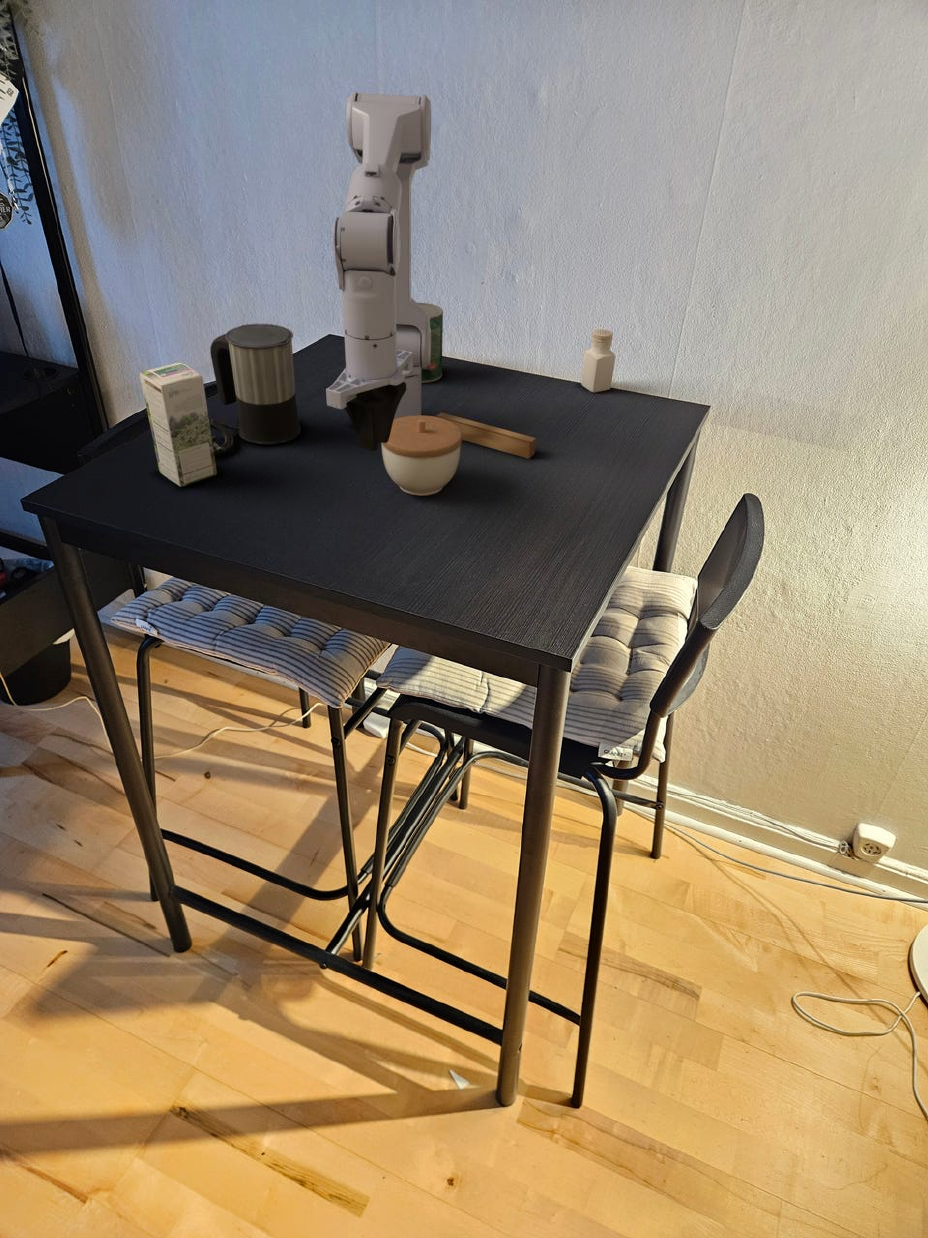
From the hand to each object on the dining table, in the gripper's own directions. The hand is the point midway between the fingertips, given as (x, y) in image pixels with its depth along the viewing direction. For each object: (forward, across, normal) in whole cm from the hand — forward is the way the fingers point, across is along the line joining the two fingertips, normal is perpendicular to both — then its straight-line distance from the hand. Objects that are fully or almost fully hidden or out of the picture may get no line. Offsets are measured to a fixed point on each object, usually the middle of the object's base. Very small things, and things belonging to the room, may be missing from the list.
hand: (374, 444), depth 100 cm
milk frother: (+11, +8, +29) cm, 32 cm away
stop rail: (+10, +27, -1) cm, 29 cm away
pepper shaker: (+11, +56, -7) cm, 57 cm away
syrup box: (+11, -4, +28) cm, 30 cm away
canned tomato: (+11, +44, +21) cm, 50 cm away
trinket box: (+11, +11, 0) cm, 15 cm away
